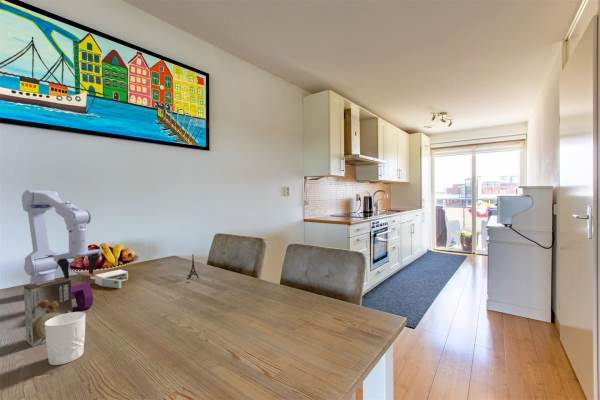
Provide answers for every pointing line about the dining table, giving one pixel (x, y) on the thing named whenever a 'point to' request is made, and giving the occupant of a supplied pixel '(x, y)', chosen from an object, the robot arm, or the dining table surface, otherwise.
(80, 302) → the mounting bracket
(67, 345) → the white cup
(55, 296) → the coffee box
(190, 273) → the eiffel tower figurine
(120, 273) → the cabinet
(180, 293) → the dining table surface
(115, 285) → the door
